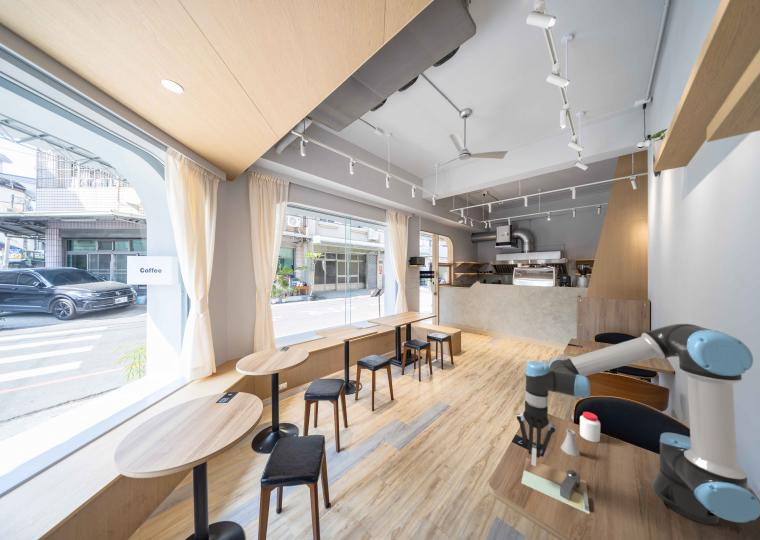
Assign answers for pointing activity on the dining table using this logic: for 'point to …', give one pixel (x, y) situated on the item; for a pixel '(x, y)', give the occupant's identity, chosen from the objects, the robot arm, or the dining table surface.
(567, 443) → the flask
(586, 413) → the pill bottle
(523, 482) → the door panel
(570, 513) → the dining table surface
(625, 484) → the dining table surface
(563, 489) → the latch bar
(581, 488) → the board
